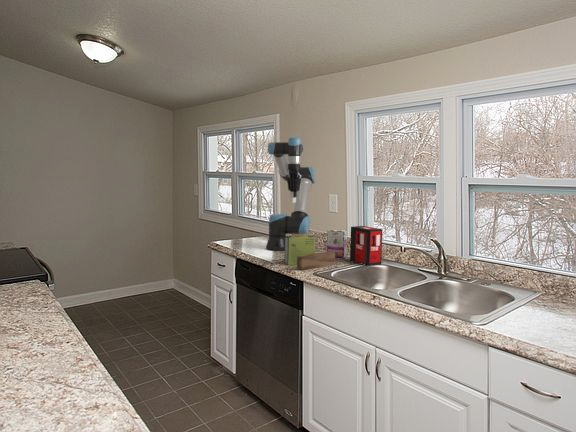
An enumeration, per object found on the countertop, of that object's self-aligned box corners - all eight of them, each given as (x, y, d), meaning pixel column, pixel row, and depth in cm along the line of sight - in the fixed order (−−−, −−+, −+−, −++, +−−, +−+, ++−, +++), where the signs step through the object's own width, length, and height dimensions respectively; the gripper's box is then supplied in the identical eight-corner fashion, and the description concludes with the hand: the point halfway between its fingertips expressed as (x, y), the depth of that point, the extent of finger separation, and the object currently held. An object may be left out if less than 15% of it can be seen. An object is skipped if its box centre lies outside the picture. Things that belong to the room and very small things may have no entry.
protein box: (315, 264, 238) (315, 236, 237) (287, 265, 235) (288, 237, 233) (310, 261, 248) (310, 234, 247) (284, 261, 245) (284, 234, 244)
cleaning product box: (349, 260, 251) (350, 226, 249) (361, 259, 255) (362, 225, 253) (368, 266, 237) (370, 230, 235) (381, 264, 241) (382, 229, 239)
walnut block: (296, 269, 226) (296, 255, 226) (329, 263, 241) (329, 251, 241) (301, 270, 223) (301, 257, 223) (334, 264, 238) (335, 252, 238)
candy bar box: (346, 257, 262) (347, 230, 260) (343, 258, 257) (344, 231, 256) (329, 255, 267) (330, 228, 266) (326, 256, 263) (326, 229, 261)
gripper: (282, 163, 264) (282, 202, 266) (296, 163, 254) (295, 203, 256) (292, 163, 269) (291, 201, 271) (305, 163, 259) (305, 202, 261)
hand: (293, 202), depth 263 cm, fingers closed
